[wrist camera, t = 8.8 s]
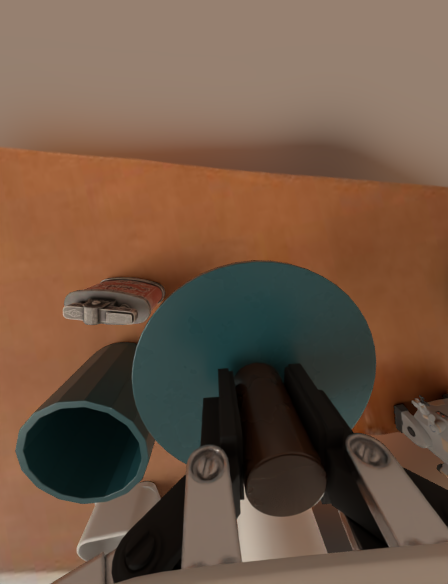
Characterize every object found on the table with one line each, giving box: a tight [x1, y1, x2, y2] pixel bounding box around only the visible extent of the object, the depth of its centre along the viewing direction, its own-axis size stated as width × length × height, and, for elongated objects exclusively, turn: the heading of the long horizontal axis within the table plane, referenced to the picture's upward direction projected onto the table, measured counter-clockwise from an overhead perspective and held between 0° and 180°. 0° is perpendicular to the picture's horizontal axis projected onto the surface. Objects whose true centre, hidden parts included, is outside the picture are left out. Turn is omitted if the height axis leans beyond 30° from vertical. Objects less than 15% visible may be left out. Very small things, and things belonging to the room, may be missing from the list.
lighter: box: [63, 277, 165, 325], centre depth 24 cm, size 8×3×10 cm, turn 84°
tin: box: [15, 342, 155, 504], centre depth 27 cm, size 12×12×12 cm
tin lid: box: [132, 260, 376, 517], centre depth 10 cm, size 13×13×6 cm
